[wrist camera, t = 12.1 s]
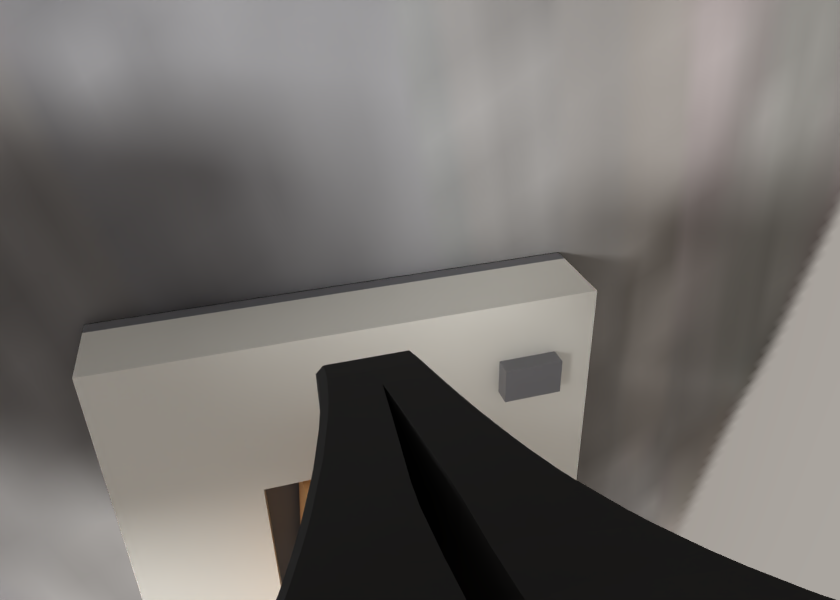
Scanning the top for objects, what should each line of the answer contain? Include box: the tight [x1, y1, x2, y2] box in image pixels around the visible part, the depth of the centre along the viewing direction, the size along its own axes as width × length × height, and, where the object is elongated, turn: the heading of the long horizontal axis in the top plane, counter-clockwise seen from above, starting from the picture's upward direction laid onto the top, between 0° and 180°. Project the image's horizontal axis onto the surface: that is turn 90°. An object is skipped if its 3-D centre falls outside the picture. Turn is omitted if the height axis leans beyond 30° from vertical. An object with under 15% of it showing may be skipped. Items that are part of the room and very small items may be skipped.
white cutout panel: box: [72, 253, 597, 600], centre depth 23 cm, size 13×16×3 cm
